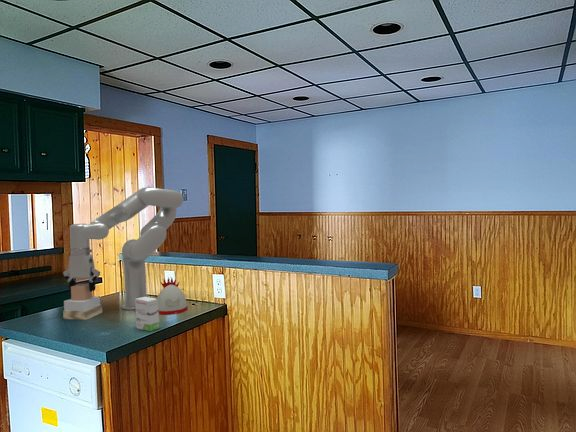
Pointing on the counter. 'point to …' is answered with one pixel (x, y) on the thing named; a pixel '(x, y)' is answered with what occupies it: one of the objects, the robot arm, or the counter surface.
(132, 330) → the counter surface
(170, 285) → the white dome with spikes
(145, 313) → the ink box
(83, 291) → the terracotta cube
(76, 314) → the maple base slab
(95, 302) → the grey top slab
